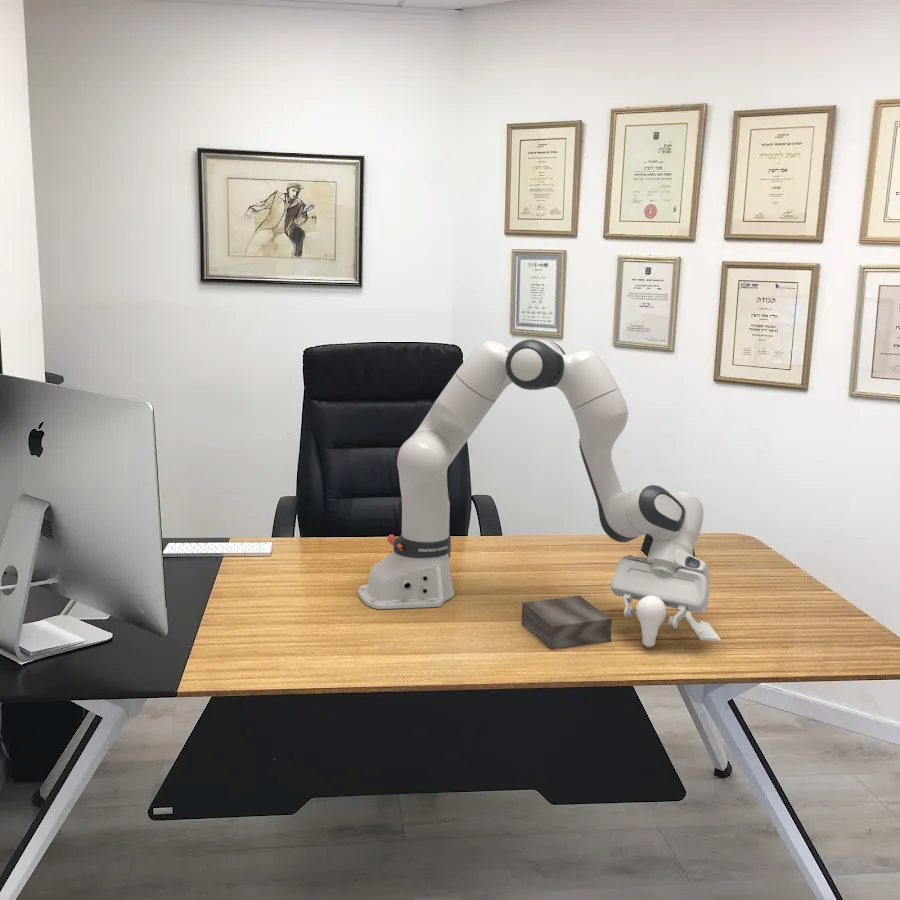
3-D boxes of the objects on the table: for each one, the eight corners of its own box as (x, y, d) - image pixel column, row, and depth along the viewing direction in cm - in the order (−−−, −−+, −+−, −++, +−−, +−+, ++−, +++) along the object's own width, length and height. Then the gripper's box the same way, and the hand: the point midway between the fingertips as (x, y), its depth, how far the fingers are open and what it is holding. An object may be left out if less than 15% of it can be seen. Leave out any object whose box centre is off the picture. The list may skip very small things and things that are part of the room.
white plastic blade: (704, 615, 212) (705, 611, 211) (723, 642, 197) (723, 638, 197) (682, 614, 212) (682, 610, 211) (699, 641, 197) (699, 637, 197)
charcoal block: (550, 649, 190) (552, 626, 189) (521, 624, 203) (522, 602, 202) (610, 641, 195) (612, 618, 194) (578, 616, 208) (579, 595, 207)
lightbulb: (646, 655, 189) (650, 603, 186) (627, 643, 194) (630, 593, 192) (669, 650, 191) (673, 599, 189) (650, 639, 197) (654, 589, 194)
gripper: (618, 546, 200) (598, 603, 194) (713, 564, 190) (695, 625, 184) (624, 561, 205) (605, 616, 198) (717, 579, 194) (700, 638, 188)
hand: (649, 621), depth 191 cm, fingers open, 8 cm apart
